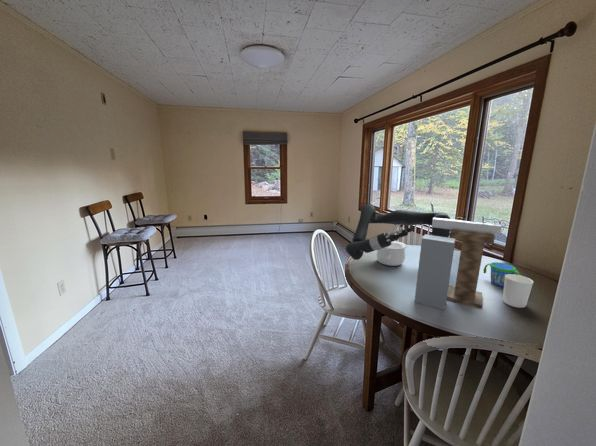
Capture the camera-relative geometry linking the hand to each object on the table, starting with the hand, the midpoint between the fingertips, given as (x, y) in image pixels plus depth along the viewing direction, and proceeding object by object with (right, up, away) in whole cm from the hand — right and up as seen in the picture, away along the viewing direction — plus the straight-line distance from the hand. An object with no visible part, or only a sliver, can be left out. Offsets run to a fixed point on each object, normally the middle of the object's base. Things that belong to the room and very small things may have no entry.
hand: (409, 230), depth 133 cm
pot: (+2, -21, +33) cm, 40 cm away
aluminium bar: (+19, +1, -14) cm, 24 cm away
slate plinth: (+4, -32, -14) cm, 35 cm away
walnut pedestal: (+21, -31, -9) cm, 38 cm away
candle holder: (+42, -33, -14) cm, 55 cm away
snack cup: (+50, -28, +5) cm, 58 cm away
